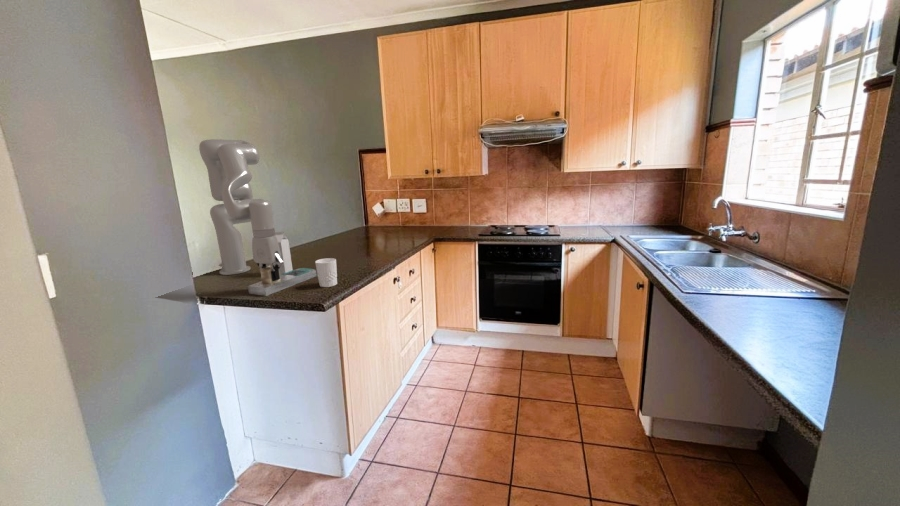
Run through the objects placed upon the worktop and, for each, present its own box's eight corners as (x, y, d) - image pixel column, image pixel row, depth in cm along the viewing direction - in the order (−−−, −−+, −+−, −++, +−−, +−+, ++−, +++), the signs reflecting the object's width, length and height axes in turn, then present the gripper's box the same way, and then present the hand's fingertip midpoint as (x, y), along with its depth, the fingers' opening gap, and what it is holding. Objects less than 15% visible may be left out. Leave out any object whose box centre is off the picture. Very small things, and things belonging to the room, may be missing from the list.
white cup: (342, 282, 148) (339, 258, 145) (331, 288, 140) (328, 263, 138) (325, 281, 150) (322, 257, 147) (313, 287, 142) (310, 262, 140)
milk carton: (285, 275, 160) (279, 233, 156) (270, 275, 161) (263, 233, 156) (292, 271, 167) (287, 230, 163) (277, 271, 168) (271, 230, 163)
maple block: (263, 288, 141) (260, 268, 139) (272, 284, 145) (269, 265, 143) (271, 289, 139) (268, 269, 137) (281, 286, 143) (278, 266, 142)
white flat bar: (266, 295, 134) (264, 287, 133) (249, 293, 138) (247, 285, 137) (316, 276, 157) (315, 269, 157) (300, 274, 161) (300, 267, 160)
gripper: (239, 234, 137) (247, 280, 141) (272, 236, 131) (279, 284, 135) (256, 230, 144) (263, 274, 148) (288, 232, 137) (294, 278, 142)
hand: (271, 279), depth 141 cm, fingers closed on maple block, 4 cm apart
